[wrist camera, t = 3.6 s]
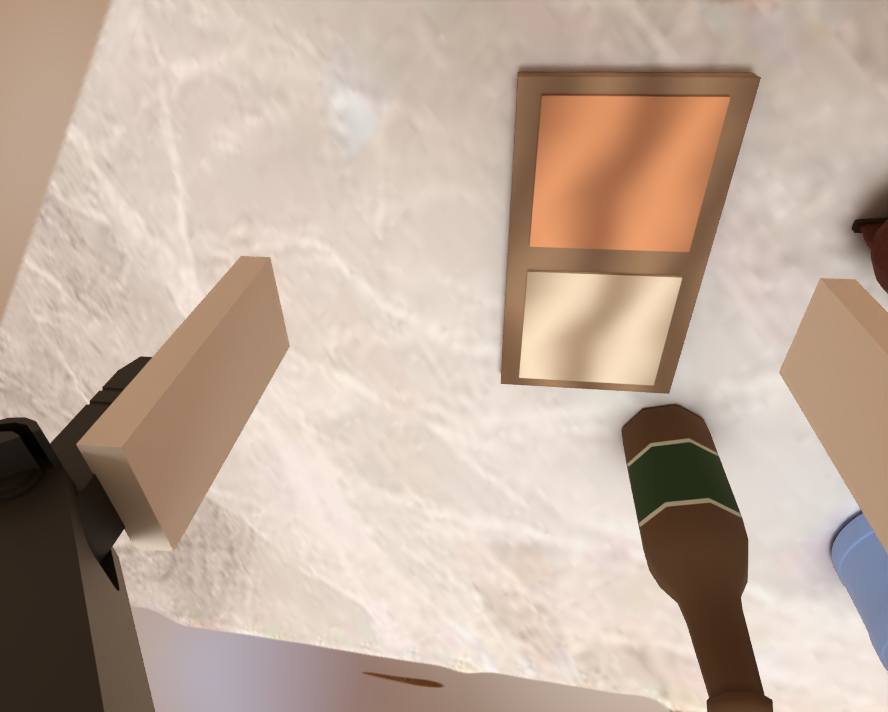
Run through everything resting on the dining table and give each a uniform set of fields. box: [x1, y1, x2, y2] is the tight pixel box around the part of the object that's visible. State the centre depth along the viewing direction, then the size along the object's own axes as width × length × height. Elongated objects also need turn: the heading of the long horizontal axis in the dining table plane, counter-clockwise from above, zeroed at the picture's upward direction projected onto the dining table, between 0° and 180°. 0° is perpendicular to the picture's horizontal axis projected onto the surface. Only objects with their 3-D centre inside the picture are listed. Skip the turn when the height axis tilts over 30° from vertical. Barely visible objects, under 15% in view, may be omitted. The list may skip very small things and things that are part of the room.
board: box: [501, 72, 761, 394], centre depth 41 cm, size 14×24×2 cm, turn 1°
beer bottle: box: [622, 405, 773, 712], centre depth 42 cm, size 8×8×24 cm
